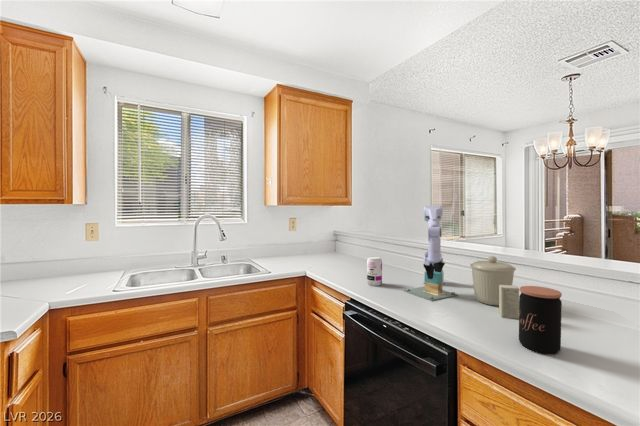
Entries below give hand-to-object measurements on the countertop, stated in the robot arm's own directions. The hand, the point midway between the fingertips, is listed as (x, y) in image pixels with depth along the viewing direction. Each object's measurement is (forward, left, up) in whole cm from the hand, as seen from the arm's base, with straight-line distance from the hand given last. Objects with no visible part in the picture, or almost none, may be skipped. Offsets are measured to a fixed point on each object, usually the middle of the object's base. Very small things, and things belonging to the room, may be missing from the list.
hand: (434, 277), depth 152 cm
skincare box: (-2, +36, -8) cm, 37 cm away
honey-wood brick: (0, 0, -7) cm, 7 cm away
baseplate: (+2, -1, -8) cm, 8 cm away
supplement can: (+16, -28, -8) cm, 33 cm away
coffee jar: (+16, +56, -8) cm, 59 cm away
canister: (-12, +22, -8) cm, 27 cm away
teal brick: (0, 0, -2) cm, 2 cm away
